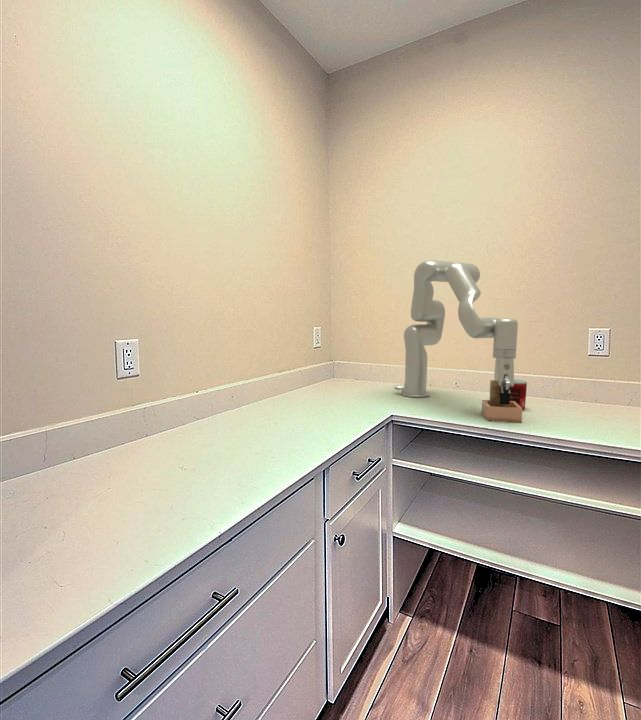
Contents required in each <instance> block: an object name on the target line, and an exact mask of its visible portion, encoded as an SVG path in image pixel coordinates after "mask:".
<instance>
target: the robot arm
mask: <svg viewBox="0 0 641 720" xmlns="http://www.w3.org/2000/svg"><path fill="white" fill-rule="evenodd" d="M480 277H481V271H480V269H479V267H478V266H477V265H476V264H474V263H468V262H467V263H465V262H457V261H456V262H455V261H445V260H423V261H422V262H420V263H419V264H418V265H417V266H416V268H415V270H414V273H413V291H412V292H413V293H412V299H411V300H412V301H411V307H410V318H411V320H412V321H414V322H420V324H418V323H417V324H412V325H409V326H406V328H405V330H404V333H403V340H404V348H405V364H404V371H405V372H404V383H403V384H400V385H398V384H394V390H397V391H401V392H400V394H401V396H403V397H409V398H427V397H429V396H430V395H431V393H430V391H427V382H428V380H427V379H428V378H427V377H428V353H427V351H426V348H425V346H426V347H427V346H434V345H437V344H439V342H440V341H441V339H442V336H443V335H442V334H443V330H444V324H445V317H446V309H445V306H444V304H443V302H442V301H440V300H436V299H434V293H435V292H434V291H435V289H434V286H433V283H432V282H440V283H442V282H443V283H448V285H449V286H450V288H451V290H452V291H453V293H454V295H455V297H456V299H457V301H458V309H457V313H458V315H457V316H458V320H459V323H460V324H461V326H462V328H463V329H464V331H465V332H466V334H467V335H468V336H469V337H471V338H473V339H493V342H492V343H493V345H492V347H493V348H492V358H494V359H495V362H494V363H495V364H494V374H493V375H494V378H493V380H496V381H497V385H499V386H500V387H501V393H500V401H499V403H500V404H505V405H509V404H510V387H513V386H514V379H515V363H514V360H515V359H517V342H518V327H519V322H518V320H517V319H515V318H499V317H488V316H487V317H479V315H478V314H477V312H476V310H475V308H474V305H473V303H475V302H476V301H477V300H478V299H479V297H480V296H481V294H482V293H481V290H480V288H479V286H478V285H477V283H478V281H479V280H480ZM421 322H422V324H421ZM423 323H425V324H423Z"/></svg>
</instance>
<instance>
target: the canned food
mask: <svg viewBox="0 0 641 720" xmlns="http://www.w3.org/2000/svg"><path fill="white" fill-rule="evenodd" d="M527 383H528V382H527V381H526V380H523V379H518V378H517V379H516V378H514V386H513V387H510V401H515V402H516V403H517V404H518V405H519V406H520V407H521V408H522V411H524V410H525V408H526V404H527V403H526V400H527V385H528V384H527Z"/></svg>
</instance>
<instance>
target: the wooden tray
mask: <svg viewBox="0 0 641 720" xmlns="http://www.w3.org/2000/svg"><path fill="white" fill-rule="evenodd" d="M489 402H490V399H482V400H481V414H482V416H483V417H485V418H484V419H485V421H486V420H491V421H490V422H501V421H507V422H506V423H518V422H520V423H522V422H523V410H522V408H521V407H520V406H519V405H518V404H517V403H516V402H515V401H510V404H509V405H505V404H504V407H498V406H490V405H489ZM520 423H519V424H520Z"/></svg>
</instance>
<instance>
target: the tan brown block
mask: <svg viewBox="0 0 641 720" xmlns="http://www.w3.org/2000/svg"><path fill="white" fill-rule="evenodd" d="M489 382H490V383H489V384H490V385H489V400H490V402H489V405H490V406H498V407H504V404H500V403H499V401H500V393H501V387H500V386H499V385H497V381H496V380H494V379H493V380H491V379H490V381H489Z"/></svg>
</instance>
